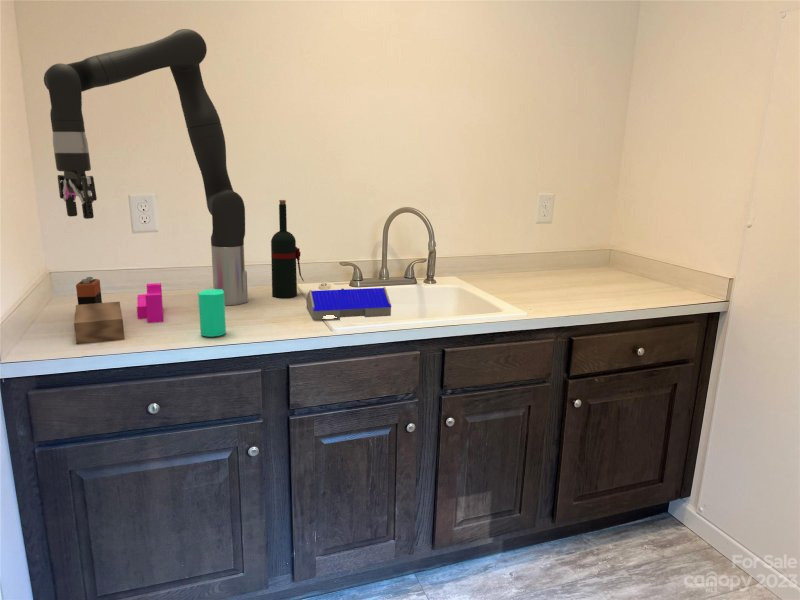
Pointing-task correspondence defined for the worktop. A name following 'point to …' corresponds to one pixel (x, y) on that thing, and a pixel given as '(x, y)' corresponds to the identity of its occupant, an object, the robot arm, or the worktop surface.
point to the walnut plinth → (98, 322)
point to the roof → (349, 303)
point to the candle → (212, 312)
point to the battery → (89, 291)
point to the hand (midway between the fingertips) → (80, 217)
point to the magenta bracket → (151, 304)
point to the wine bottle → (284, 259)
